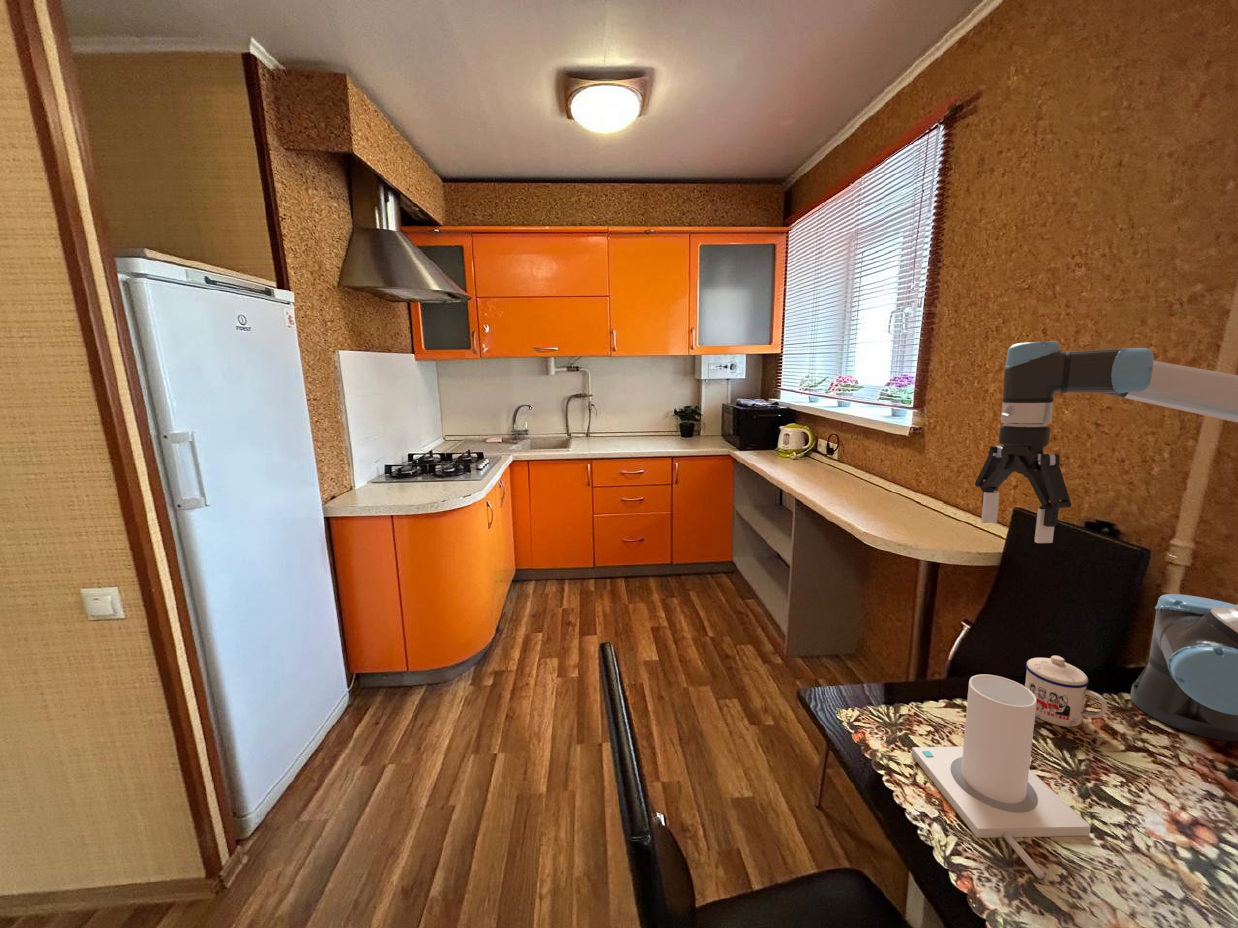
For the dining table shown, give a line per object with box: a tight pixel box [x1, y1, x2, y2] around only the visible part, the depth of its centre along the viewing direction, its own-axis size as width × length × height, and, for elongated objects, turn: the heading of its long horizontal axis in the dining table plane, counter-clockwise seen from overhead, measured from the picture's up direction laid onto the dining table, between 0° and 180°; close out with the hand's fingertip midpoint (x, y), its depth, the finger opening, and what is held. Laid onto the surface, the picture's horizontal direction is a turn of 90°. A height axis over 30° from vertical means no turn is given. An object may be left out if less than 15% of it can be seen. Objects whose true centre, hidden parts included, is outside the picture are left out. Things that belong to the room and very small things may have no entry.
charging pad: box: [911, 745, 1091, 880], centre depth 75 cm, size 16×22×2 cm
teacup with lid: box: [1024, 655, 1109, 728], centre depth 94 cm, size 12×9×12 cm
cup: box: [961, 673, 1037, 803], centre depth 76 cm, size 8×8×16 cm
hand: (1014, 531), depth 97 cm, fingers open, 13 cm apart
